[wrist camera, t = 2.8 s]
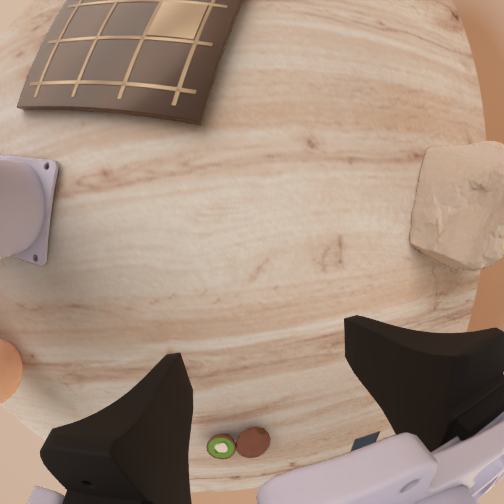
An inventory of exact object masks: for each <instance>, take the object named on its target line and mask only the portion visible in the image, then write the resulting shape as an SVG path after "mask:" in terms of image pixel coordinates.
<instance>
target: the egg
mask: <svg viewBox="0 0 504 504" xmlns="http://www.w3.org/2000/svg"><path fill="white" fill-rule="evenodd" d="M22 372H23V368H22V360H21V357H20V354H19V353H18V351H17V349H16V348H15V347H14V346H13V345H12V344H10V343H9V342H7V341H4V340H0V403H2V402H4V401H5V400H7V399H8V398H10V397H11V396H12V395H13V394H14V393H15V391H16V390H17V388H18V386H19V384H20V382H21V378H22Z"/></svg>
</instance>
